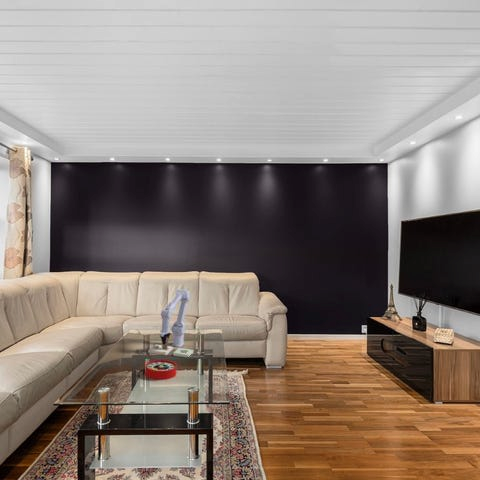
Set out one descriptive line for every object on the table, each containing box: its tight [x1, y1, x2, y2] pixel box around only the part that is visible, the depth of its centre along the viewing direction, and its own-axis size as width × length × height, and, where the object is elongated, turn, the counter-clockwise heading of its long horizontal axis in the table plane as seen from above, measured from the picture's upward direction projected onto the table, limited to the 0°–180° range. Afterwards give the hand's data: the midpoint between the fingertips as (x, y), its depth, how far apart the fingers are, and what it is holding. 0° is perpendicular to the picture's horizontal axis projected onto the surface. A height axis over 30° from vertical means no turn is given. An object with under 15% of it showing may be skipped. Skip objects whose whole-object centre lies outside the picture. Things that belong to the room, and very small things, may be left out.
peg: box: [161, 337, 169, 349], centre depth 313 cm, size 4×4×8 cm
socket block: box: [147, 344, 174, 356], centre depth 314 cm, size 14×14×2 cm
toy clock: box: [144, 359, 178, 381], centre depth 270 cm, size 20×6×20 cm
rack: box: [172, 347, 195, 358], centre depth 310 cm, size 12×12×2 cm
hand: (164, 343), depth 313 cm, fingers closed on peg, 4 cm apart
